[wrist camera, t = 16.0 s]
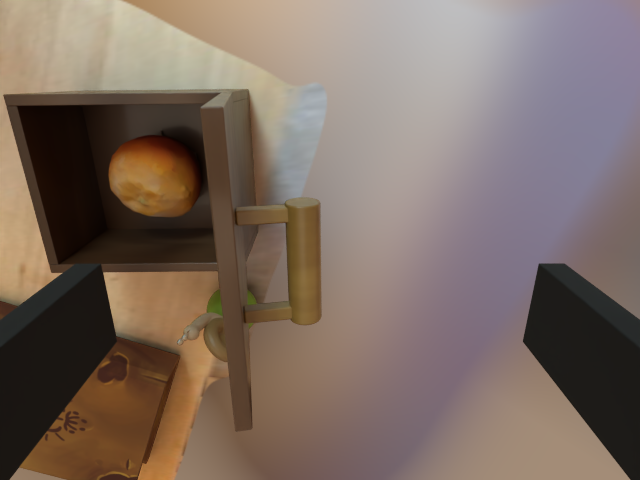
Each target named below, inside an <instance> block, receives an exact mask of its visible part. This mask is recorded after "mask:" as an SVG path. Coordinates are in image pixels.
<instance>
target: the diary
mask: <svg viewBox="0 0 640 480" xmlns="http://www.w3.org/2000/svg"><path fill="white" fill-rule="evenodd" d="M17 307H18V306H15V305H11V304H8V303H5V302H2V301H0V320H1V319H2V318H3V317H5V316H6V315H7V314H9V313H10V312H11V311H13V310H14V309H15V308H17ZM116 338H117V342H116V344H115V345H114V346H113V347H112V349H111V350H110V351H109V353H108V354H107V355H106V356H105V358H104V359H103V360H102V362H101V363H100V364H99V365H98V367H97V368H96V369H95V371H94V372H93V373H92V374H91V376H90V377H89V378H88V380H87V381H86V382H85V383H84V385H83V386H82V387H81V388H80V390H79V391H78V392H77V394H76V395H75V396H74V397H73V399H72V400H71V401H70V403H69V404H68V405H67V406H66V408H65V409H64V410H63V412H62V413H61V414H60V415H59V417H58V418H57V419H56V421H55V422H54V423H53V424H52V426H51V427H50V428H49V430H48V431H47V432H46V433H45V435H44V436H43V437H42V439H41V440H40V441H39V442H38V444H37V445H36V446H35V447H34V449H33V450H32V451H31V453H30V454H29V455H28V456H27V458H26V459H25V460H24V462H23V463H22V464H21V465H20V468H24V469H28V470H32V471H35V472H39V473H43V474H47V475H51V476H55V477H59V478H63V479H67V480H137V479H138V476H139V473H140V469H141V466H142V463H145V464H146V463H147V461H148V459H149V456H150V453H151V449H152V446H153V443H154V440H155V436H156V433H157V430H158V427H159V423H160V420H161V417H162V414H163V411H164V407H165V404H166V401H167V398H168V394H169V391H170V388H171V385H172V381H173V378H174V375H175V372H176V369H177V365H178V362H179V359H180V356H179V355H176V354H172V353H169V352H166V351H162V350H159V349H156V348H153V347H149V346H146V345H143V344H139V343H136V342H133V341H130V340H126V339H123V338H120V337H116Z"/></svg>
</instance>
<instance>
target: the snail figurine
mask: <svg viewBox="0 0 640 480" xmlns="http://www.w3.org/2000/svg"><path fill="white" fill-rule="evenodd" d="M247 295H248V305H253V304H257V302H256V300H255V298H254V296H253V295H252V293H251V292H250V291H249V290H247ZM252 325H253V323H249V328H250V327H251V326H252ZM203 328H204V341H205V344H206V346H207V348H208V349H209V350H210V352H211V353H212V354H213V355H214V356H215V357H216V358H218V359H219V360H222V361H224V362H228V360H227V351H226V341H225V332H224V323H223V314H222V305H221V296H220V289H219V290H217V291H216V292H215V293H214V294H213V295H212V296H211V298H210V300H209V302H208V305H207V313H205V314H203V315H201V316H199V317H198V318H197V319H196V320H194V321H193V322H192V323H191V325H188V326H187V327H186V328H185V329H184V335H183V336H182V338H181V339H179V340H178V341H177V344H178V345H182V344H183V340H184V341H186V340H187V339H188V340H195V339H197V338H198V336H199V332H200V331H201V330H202V329H203Z"/></svg>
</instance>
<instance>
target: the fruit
mask: <svg viewBox="0 0 640 480" xmlns="http://www.w3.org/2000/svg"><path fill="white" fill-rule="evenodd" d="M196 153H197V152H193V151H192V150H190V149H189V148H188V147H187V146H186V145H185V144H183V143H182V142H180V141H178V140H175V139H173V138H170V137H166V136H162V130H161V131H160V135H146V136H141V137H137V138H135V139H132V140H130V141H127V142H125V143H123V144H122V145H121V146H120V147H119V148H118V150H117V151H116V152H115V153H114V154H113V155H112V158H111V162H110V166H109V182H110V188H111V190H112V191H113V193H114V194H115V195H116V196H117V197H118V198H119V199H120V200H121V202H122V203H123V204H124V205H125V206H126V207H128V208H129V209H131V210H132V211H133V212H137V213H141V214H143V215H146V216H152V217H178V216H182V215H184V214H185V213H187V212H189V211H190V210H191V208H192V207H193V206H194V204H195V203H196V201H197V199H198V197H199V194H200V191H201V182H202V178H201V170H200V165H199V162H198V160H197V155H196Z"/></svg>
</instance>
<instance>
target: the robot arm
mask: <svg viewBox="0 0 640 480" xmlns="http://www.w3.org/2000/svg"><path fill="white" fill-rule="evenodd" d="M116 342H117V338H116V334H115V329H114V324H113V319H112V314H111V309H110V304H109V300H108V295H107V290H106V285H105V280H104V275H103V271H102V266H101V264H74V265H73V266H72V267H70V268H69V269H68V270H66V271H65V272H64V273H62V274H61V275H60V276H58V277H57V278H56V279H54V280H53V281H52V282H50V283H49V284H48V285H46V286H45V287H44V288H42V289H41V290H40V291H38V292H37V293H35V294H34V295H33V296H31V297H30V298H29V299H27V300H26V301H25V302H23V303H22V304H21V305H19V306H18V307H17V308H15V309H14V310H13V311H11V312H10V313H9V314H7V315H6V316H5V317H3V318H2V319H1V320H0V480H10V478H11V477H12V476H13V474H14V473H15V472H16V471H17V469H18V468H19V467H20V465H21V464H22V463H23V462H24V460H25V459H26V458H27V456H28V455H29V454H30V453H31V451H32V450H33V449H34V447H35V446H36V445H37V444H38V442H39V441H40V440H41V439H42V437H43V436H44V435H45V433H46V432H47V431H48V430H49V428H50V427H51V426H52V424H53V423H54V422H55V421H56V419H57V418H58V417H59V415H60V414H61V413H62V412H63V410H64V409H65V408H66V406H67V405H68V404H69V403H70V401H71V400H72V399H73V397H74V396H75V395H76V394H77V392H78V391H79V390H80V388H81V387H82V386H83V385H84V383H85V382H86V381H87V380H88V378H89V377H90V376H91V374H92V373H93V372H94V371H95V369H96V368H97V367H98V365H99V364H100V363H101V362H102V360H103V359H104V358H105V356H106V355H107V354H108V353H109V351H110V350H111V349H112V347H113V346H114V345H115V344H116ZM523 342H524V344H525V345H526V346H527V347H528V349H529V350H530V351H531V353H532V354H533V355H534V356H535V358H536V359H537V360H538V362H539V363H540V364H541V365H542V367H543V368H544V369H545V371H546V372H547V373H548V374H549V376H550V377H551V378H552V379H553V381H554V382H555V383H556V385H557V386H558V387H559V388H560V390H561V391H562V392H563V394H564V395H565V396H566V397H567V399H568V400H569V401H570V403H571V404H572V405H573V406H574V408H575V409H576V410H577V412H578V413H579V414H580V415H581V417H582V418H583V419H584V421H585V422H586V423H587V424H588V426H589V427H590V428H591V430H592V431H593V432H594V433H595V435H596V436H597V437H598V438H599V440H600V441H601V442H602V444H603V445H604V446H605V447H606V449H607V450H608V451H609V453H610V454H611V455H612V456H613V458H614V459H615V460H616V462H617V463H618V464H619V465H620V467H621V468H622V469H623V471H624V472H625V473H626V474H627V476H628V477H629V478H630V480H640V320H639V319H638V318H637V317H635V316H634V315H633V314H631V313H630V312H629V311H627V310H626V309H625V308H623V307H622V306H621V305H619V304H618V303H617V302H615V301H614V300H613V299H611V298H610V297H609V296H607V295H606V294H605V293H603V292H602V291H600V290H599V289H598V288H596V287H595V286H594V285H592V284H591V283H590V282H588V281H587V280H586V279H584V278H583V277H582V276H580V275H579V274H578V273H576V272H575V271H574V270H572V269H571V268H570V267H568V266H567V265H566V264H539V266H538V271H537V275H536V280H535V285H534V290H533V295H532V300H531V304H530V309H529V314H528V319H527V324H526V329H525V334H524V339H523Z"/></svg>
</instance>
